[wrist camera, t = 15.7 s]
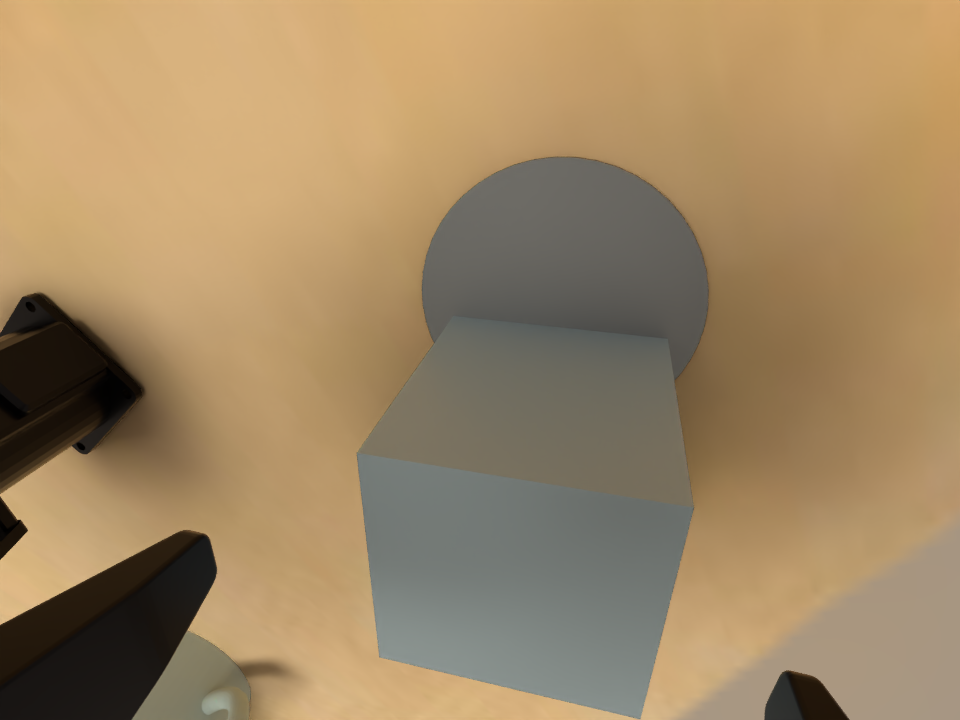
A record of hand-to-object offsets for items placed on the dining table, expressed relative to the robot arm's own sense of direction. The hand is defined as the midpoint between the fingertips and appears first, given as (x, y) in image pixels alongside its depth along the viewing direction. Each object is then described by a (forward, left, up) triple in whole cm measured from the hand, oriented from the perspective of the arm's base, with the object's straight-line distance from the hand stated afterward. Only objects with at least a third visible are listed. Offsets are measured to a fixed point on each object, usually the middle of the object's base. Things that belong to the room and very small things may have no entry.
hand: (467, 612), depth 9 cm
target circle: (0, 0, -13) cm, 13 cm away
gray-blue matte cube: (-3, -3, -13) cm, 14 cm away
